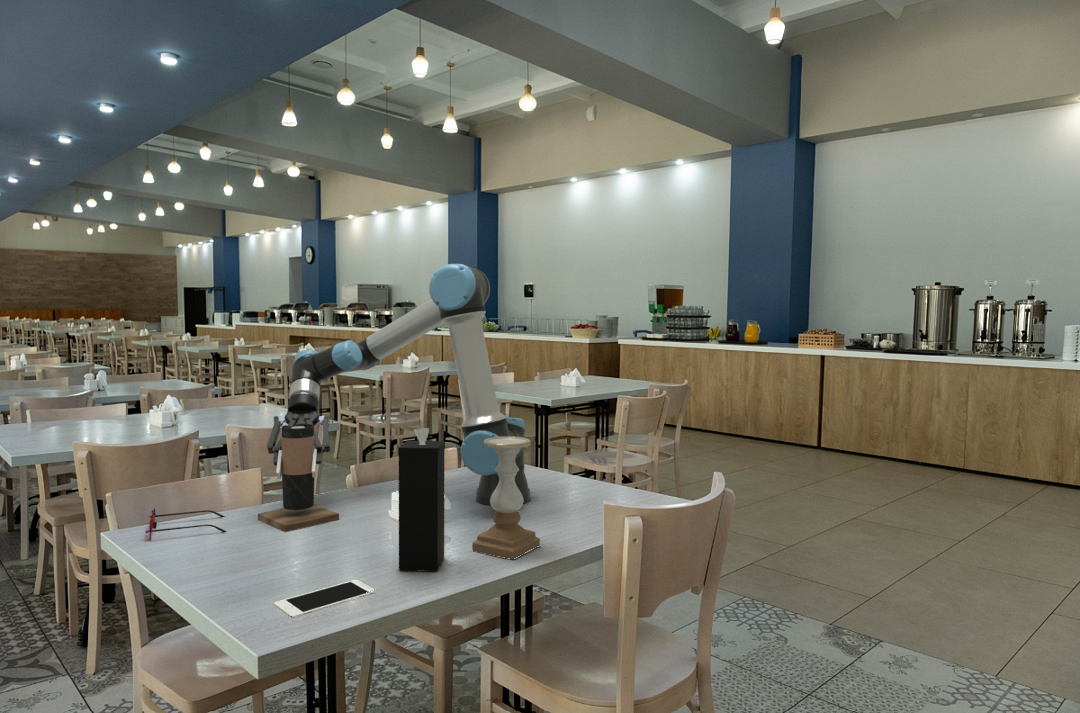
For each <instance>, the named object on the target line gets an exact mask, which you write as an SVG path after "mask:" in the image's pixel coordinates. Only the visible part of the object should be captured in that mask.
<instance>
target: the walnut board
mask: <svg viewBox="0 0 1080 713" xmlns="http://www.w3.org/2000/svg"><path fill="white" fill-rule="evenodd" d="M257 520H258V521H260V522H263V523H265V524H267V525H270V526H271V527H273V528H276V529H278V530H280V531H283V532H284V533H286V532H290V531H291V530H292V531H295V530H299V529H303V528H304V529H305V528H309V527H312V526H318V525H321V524H325V523H330V522H334V521H338V520H340V513H338V512H336V511H333V510H332V509H328V508H325V507H322V506H320V505H317V504H314V505H313V506H312V507H311V508H307V509H303V510H287V509H284V507H283V508H279V509H274V510H270V511H269V510H268V511H264V512H260V513H257Z"/></svg>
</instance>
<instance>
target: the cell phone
mask: <svg viewBox="0 0 1080 713" xmlns="http://www.w3.org/2000/svg"><path fill="white" fill-rule="evenodd" d="M374 589H375V588H372V587H370V586H369V585H367V584H365V583H363V582H361V581H360V580H358V579H353V580H349V581H346V582H341V583H338V584H335V585H332V586H331V585H330V586H327V587H324V588H319V589H317V590H313V591H309V592H306V593H303V594H299V595H296V596H295V595H294V596H292V597H287V598H284V599H281V600H277V601H274V602H273V605H274V606H275V607H277V608H278V609H279V610H280V611H282V612H283V611H284V612H283V613H285V614H286V613H287V614H288V616H289V615H290V616H292V617H291V618H294V617H293V616H297V615H300V614H304V613H307V614H309V613H308V612H310V611H313V610H316V609H320V608H323V607H325V606H326V607H327V606H330V605H333V604H336V603H340V602H342V601H343V600H347V599H348V600H349V598H350V599H351V598H355V597H359V596H363V595H365V594H369V592H370V591H371V592H373V591H374ZM372 590H373V591H372ZM368 591H369V592H368ZM366 592H367V593H366ZM363 597H364V596H363ZM340 604H341V603H340ZM333 606H334V605H333ZM330 607H331V606H330ZM327 608H328V607H327ZM320 610H321V609H320ZM310 613H311V612H310ZM287 614H286V615H287ZM304 615H305V614H304ZM290 616H289V617H290ZM300 616H301V615H300ZM297 617H298V616H297Z"/></svg>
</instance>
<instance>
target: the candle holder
mask: <svg viewBox="0 0 1080 713" xmlns="http://www.w3.org/2000/svg"><path fill="white" fill-rule="evenodd" d="M484 445H485V446H487V447H491V448H495V452H496V453H497V455H498V457H499V463H498V465H497V467H496V468H495V471H496V472H497V474H498V476H499V483H498V485H497V487H496V489H495V490H494V492H493V493H492V495H491V498H490V504H491V505H490V506H491V508H492V509H493V510H495V512H494V513H493V516H492V521H493V522H494V524H493V525H492V526H490V527H489V529H488V530H485V531H483V532H481V533H479V534H478V535H477V536H476V540H475V541H473V542H472V548H471V550H473V552H475V551H477V552H476V553H478V552H482V553H481V554H483V553H486V554H485V555H487V554H491V555H495V556H494V557H496V556H500V557H505V558H510V559H514V558H516V557H518V556H520V555H522V554H524V553H525V552H527V551H529V550H531V549H533V548H535V547H537V546H539V545H540V546H541V542H540V541H541V540H540V539H541V538H540V537H538V536H536V532H535V531H534V530H530V529H527V528H526V529H525V528H524V527H523V526H522V525H520V524H519V522H521V514H520V512H519V510H520V509H521V508H522V506H523V505H524V504H523V501H524V500H523V496H522V494H521V492H520V490H519V489H518V487H517V485H516V483H515V476H516V474H517V472H518V471H519V468H518V467H517V465H516V463H515V457H516V455H517V454H518V452H519V449H520V448H524V447H525V448H527V447H529V446H530V445H531V440H530V438H526V437H525V438H523V437H511V436H503V437H492V438H487V439H485V440H484ZM491 555H490V556H491ZM500 557H499V558H500Z"/></svg>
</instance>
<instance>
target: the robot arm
mask: <svg viewBox="0 0 1080 713" xmlns="http://www.w3.org/2000/svg"><path fill="white" fill-rule="evenodd" d="M428 285H429V287H428V292H429V295H430V298H431V299H429V300H427V301H425V302H424V303H422V304H420V305H419V306H417V307H415V308H414V309H412V310H410V311H409V312H406V313H405V314H404V315H402V316H400V317H398V318H396V320H393V321H392V322H390V323H388V324H387V325H385V326H383V327H381V328H380V329H379V330H377V331H374V332H373V333H372V334H370V335H369V336H367V337H366V338H363V339H362V340H360V341H359V342H357V343H356V342H354V341H353V340H349V339H348V340H346V341H342V342H338V343H336V344H335V345H332V346H331V347H329V348H326V349H324V350H322V351H321V350H320V351H319V352H318V351H317V350H314V349H308V350H307V349H303V350H300V351H299V352H297V353H296V354H295V356H294V360H293V364H292V367H291V368H292V370H291V371H292V373H291V383H290V387H289V396H288V398H289V399H288V403H287V411H286V414H285V415H284V416H282V417H279V416H277V415H275V416H273V427H272V428H271V432H270V435H269V439H268V442H267V444H266V447H267V449H266V450H267V453H268V454H270V455H271V454H273V458H272V459H273V460H272V461H273V465H274V466H276V470H275V471H276V472H275V473H276V479H278V480H282V436H281V437H280V438H279V436H280V431H281V428H282V426H284V423H286V425H287V426H288V427H292V426H295V425H296V424H312V425H314V427H315V426H316V425H317V424H318V423H319V424H320V425H321V426H322V431H323V442H324V444H322V443H321V442H320V441H321V440H320V439H319V437H318V434H317V431H316V430H315V428H314V453H313V462H312V477H313V478H314V479H316V477H317V469H318V468H317V467H318V465H321V464H322V462H323V453H330V451H331V443H330V435H329V425H330V423H331V422H330V416H329V415H327V414H326V415H323V416H321V415H319V407H320V406H319V405H320V404H319V403H320V396H321V395H320V394H321V393H320V392H321V384H322V382H323V381H326V380H328V379H331V378H333V377H336V376H338V375H340V374H344V373H348V372H349V373H351V372H355V371H367V370H370V369H372V368H375V367H376V365H377V364H378V363H379V362H380V361H381V360H383V359H384V358H386V357H388V356H390V355H391V354H394V353H396V351H398V350H399V349H400V350H401V348H404V347H405V346H407V345H408V344H410V343H413V342H414V341H415V340H417V339H419V338H421V337H422V336H425V335H426V334H428V333H429V332H431V331H433V330H434V329H436V328H438V327H440V326H442V325H443V324H445V325H446V326H447V328H448V332H449V336H450V342H451V345H452V346H451V347H452V353H453V358H454V362H455V363H454V364H455V367H456V374H457V378H458V379H457V380H458V383H459V388H460V394H461V399H462V404H463V410H464V414H465V418H464V421H463V422H462V423H461V429H462V435H463V440H462V443H461V446H460V457H461V460H462V463H463V464H464V465H465V467H466V468H467V469H468V470H469V471H471V472H473V473H474V474H475V475H479V476H480V479H479V482H478V483H479V484H478V487H477V488H476V490H475V500H476V502H477V503H480V504H483V505H487V506H491V504H490V498H491V495H492V493H493V492H494V490H495V489H496V487H497V485H498V483H499V476H498V474H497V472H496V471H495V468H496V467H497V465H498V463H499V457H498V455H497V453H496V452H495V448H491V447H487V446H485V445H484V440H485V439H487V438H492V437H503V436H511V437H523V438H526V436H525V435H526V428H525V420H524V419H523V418H520V417H507V416H506V415H504V414H503V413H502V412H501V411H499V405H498V400H497V394H496V391H495V390H496V389H495V384H494V379H493V375H492V368H491V364H490V359H489V353H488V348H487V343H486V339H485V338H486V337H485V333H484V328H483V327H484V326H483V323H482V320H483V318H484V316H485V314H486V312H487V311H486V307H485V306H486V305H485V304H486V303H487V302H488V301H487V300H488V299H489V297H490V295H491V294H490V293H491V284H490V281H489V279H488V277H487V275H486V274H485V273H484V272H483V271H482V270H480V269H478V268H475V267H472V266H468V265H465V264H463V263H448V264H445V265H443V266H441V267H439V268H438V269H437V270H435V272H434V273H433V275H432V276H431V278H430V281H429V284H428ZM278 438H279V440H278ZM277 440H278V441H277ZM525 448H526V447H524V448H520V449H519V452H518V454H517V455H516V457H515V463H516V465H517V467H518V468H519V471H518V472H517V474H516V476H515V483H516V485H517V487H518V489H519V490H520V492H521V494H522V496H523V500H524V501H523V503H524V504H526V502H527V503H528V502H530V501H529V500H531V489H530V488H529V485H528V480H527V477H526V476H527V475H526V472H525Z"/></svg>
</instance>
